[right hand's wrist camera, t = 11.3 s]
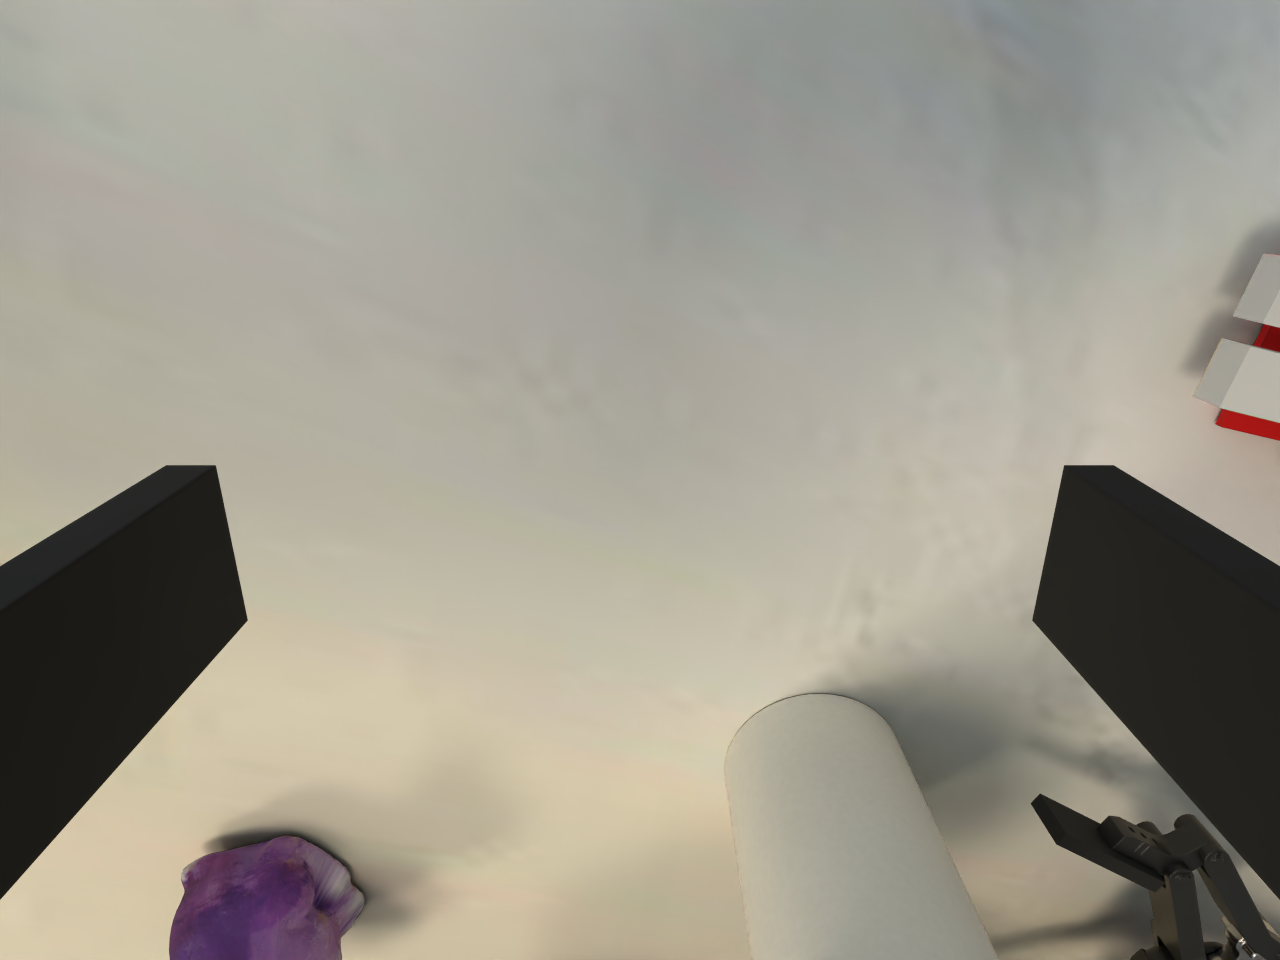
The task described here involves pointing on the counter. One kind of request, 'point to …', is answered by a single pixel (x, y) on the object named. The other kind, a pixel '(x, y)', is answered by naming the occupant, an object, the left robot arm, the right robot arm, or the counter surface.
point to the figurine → (265, 904)
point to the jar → (841, 842)
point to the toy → (1250, 361)
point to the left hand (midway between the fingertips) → (963, 904)
